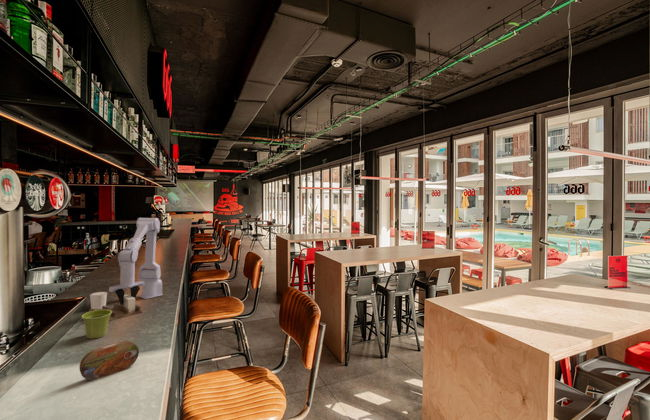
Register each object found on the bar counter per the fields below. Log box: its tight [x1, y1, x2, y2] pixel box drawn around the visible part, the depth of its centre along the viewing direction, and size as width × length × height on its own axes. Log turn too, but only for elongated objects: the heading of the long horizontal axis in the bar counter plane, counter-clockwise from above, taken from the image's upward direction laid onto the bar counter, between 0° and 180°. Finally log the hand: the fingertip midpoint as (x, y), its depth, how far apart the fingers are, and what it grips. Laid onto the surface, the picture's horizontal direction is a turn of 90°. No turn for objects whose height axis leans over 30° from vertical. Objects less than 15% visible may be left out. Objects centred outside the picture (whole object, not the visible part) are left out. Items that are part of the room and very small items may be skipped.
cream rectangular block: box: [121, 294, 136, 312], centre depth 145 cm, size 3×9×6 cm, turn 55°
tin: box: [78, 340, 140, 381], centre depth 94 cm, size 15×3×8 cm, turn 139°
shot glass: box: [89, 291, 108, 310], centre depth 149 cm, size 7×7×7 cm
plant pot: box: [81, 309, 112, 340], centre depth 118 cm, size 9×9×9 cm
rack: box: [88, 302, 143, 322], centre depth 141 cm, size 17×14×3 cm
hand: (127, 303), depth 145 cm, fingers open, 4 cm apart
